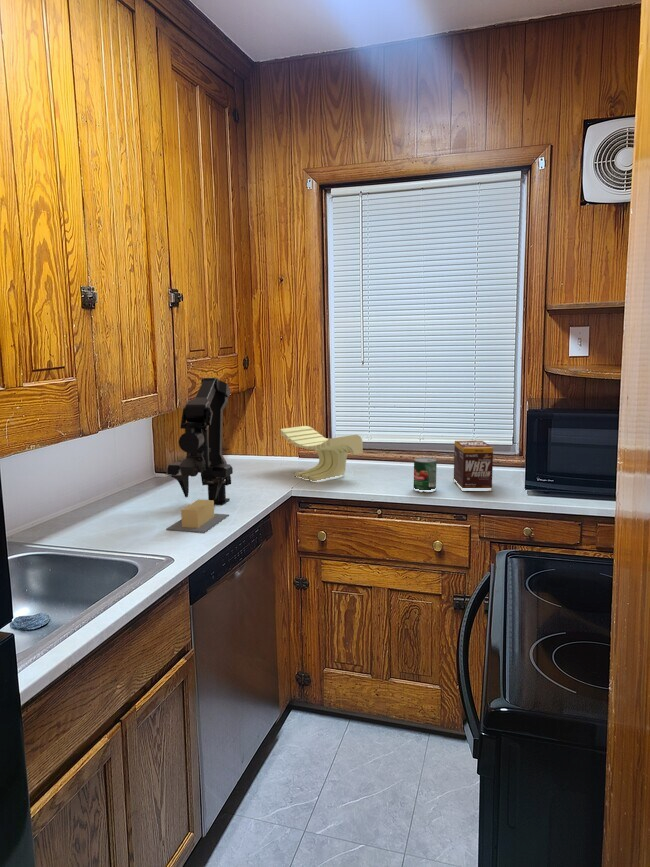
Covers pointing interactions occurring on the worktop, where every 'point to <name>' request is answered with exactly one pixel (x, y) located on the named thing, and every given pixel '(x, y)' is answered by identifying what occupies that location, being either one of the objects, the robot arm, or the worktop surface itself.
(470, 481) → the supplement box
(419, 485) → the canned tomato
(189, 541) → the worktop surface
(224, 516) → the slate mat
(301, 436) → the slatted curved stool
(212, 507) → the ochre block
